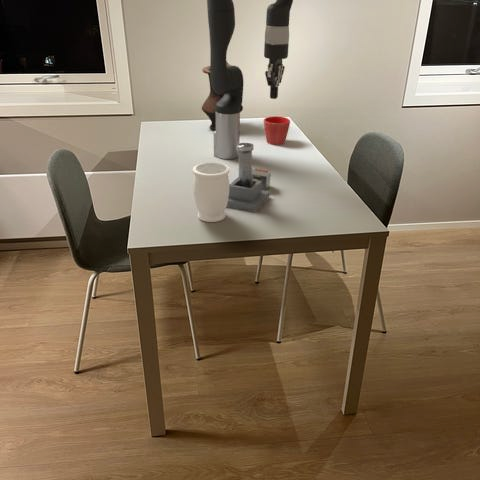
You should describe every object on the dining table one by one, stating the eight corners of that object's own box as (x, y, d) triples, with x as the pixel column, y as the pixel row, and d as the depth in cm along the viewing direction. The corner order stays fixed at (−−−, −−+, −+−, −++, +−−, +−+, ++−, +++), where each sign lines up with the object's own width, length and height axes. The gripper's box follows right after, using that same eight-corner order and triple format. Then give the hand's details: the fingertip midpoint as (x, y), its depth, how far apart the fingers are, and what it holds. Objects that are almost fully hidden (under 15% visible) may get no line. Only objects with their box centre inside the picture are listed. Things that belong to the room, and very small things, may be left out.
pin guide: (246, 187, 161) (246, 173, 158) (250, 183, 164) (250, 169, 161) (265, 191, 159) (266, 176, 156) (269, 187, 162) (270, 172, 159)
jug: (242, 135, 212) (243, 63, 197) (200, 134, 212) (198, 63, 197) (242, 122, 230) (244, 56, 216) (204, 121, 230) (203, 55, 216)
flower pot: (281, 148, 198) (282, 124, 193) (258, 143, 203) (259, 120, 198) (293, 141, 206) (294, 119, 201) (270, 137, 211) (271, 114, 206)
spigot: (235, 196, 149) (234, 146, 142) (240, 191, 153) (240, 142, 146) (250, 199, 148) (250, 148, 140) (255, 192, 152) (255, 143, 144)
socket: (219, 205, 149) (219, 187, 146) (234, 191, 158) (234, 173, 155) (256, 212, 145) (256, 193, 142) (269, 197, 155) (270, 179, 152)
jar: (194, 208, 146) (192, 161, 139) (228, 208, 147) (228, 161, 140) (194, 225, 137) (192, 175, 129) (230, 224, 138) (230, 174, 130)
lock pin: (255, 182, 165) (255, 168, 162) (267, 184, 163) (268, 170, 161) (242, 195, 155) (242, 180, 152) (255, 197, 153) (255, 183, 151)
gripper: (272, 38, 156) (269, 93, 164) (257, 43, 145) (256, 101, 154) (294, 40, 154) (290, 95, 162) (281, 44, 143) (278, 103, 151)
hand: (273, 98), depth 158 cm, fingers closed
